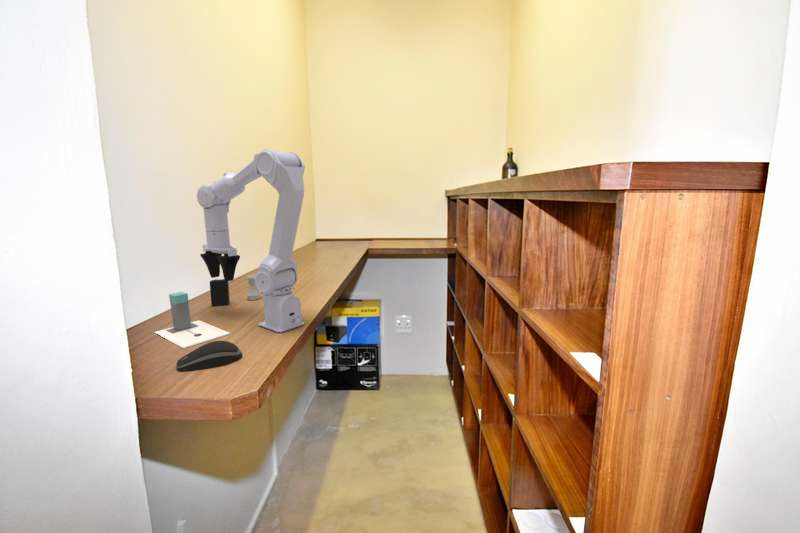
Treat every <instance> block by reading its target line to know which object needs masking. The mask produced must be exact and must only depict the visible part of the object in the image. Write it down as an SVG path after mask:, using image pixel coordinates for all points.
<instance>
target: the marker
mask: <svg viewBox="0 0 800 533" xmlns="http://www.w3.org/2000/svg"><path fill="white" fill-rule="evenodd" d="M188 294H189V293H187V292H184V291H178V292H174V293H169V294H168V298H169V303H170V308H171V309H170V312H171V317H172V318H171V319H172V327H174V329H176V330H178V331H181V330H184V329H188V328H191V322H192V321H191V313H190V305H189V295H188Z"/></svg>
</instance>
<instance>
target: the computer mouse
mask: <svg viewBox="0 0 800 533" xmlns="http://www.w3.org/2000/svg"><path fill="white" fill-rule="evenodd" d="M241 357H242V358H243V352H242V351H241V349H240V348H239V347H238V346H237V345H236V344H235V343H233V342H230V341H226V340H212V341H211V342H210V341H209V342H206V343H205V344H202V345H200V346H199V347H197V348H195V349H194V350H192V351H191V352H189V353H187V354H185V355H183V356H182V357H180V358H179V359H178V360H177V362H176V363H175V364H176V365H175V368H176V370H177V371H178V372H179V373H186V372H197V371H202V370H209V369H215V368H220V367H223V366H227V365H230V364H233V363H236V362H238V361H240V360H241V359H242V358H241ZM240 358H241V359H240ZM239 359H240V360H239ZM237 360H238V361H237ZM235 361H236V362H235Z"/></svg>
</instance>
